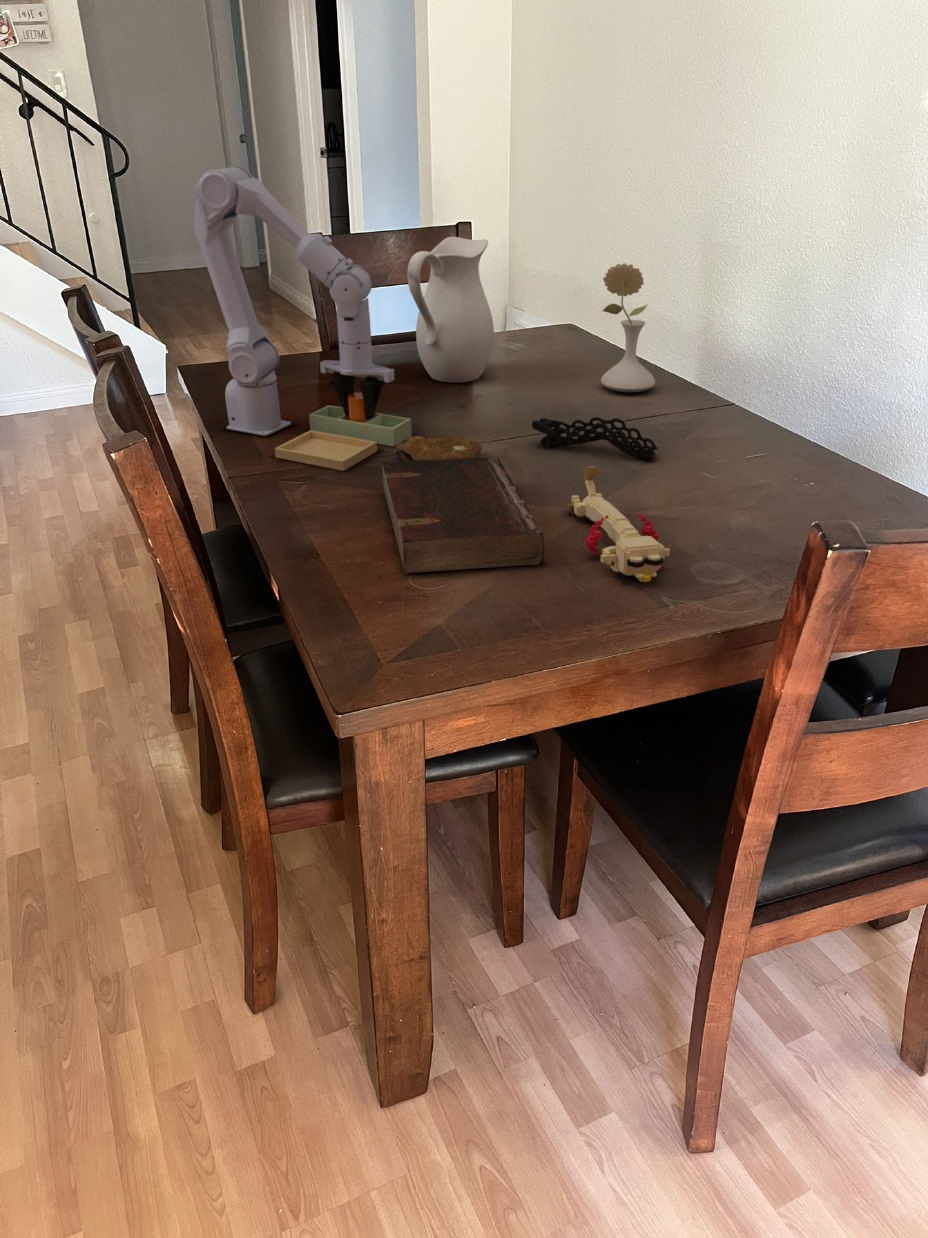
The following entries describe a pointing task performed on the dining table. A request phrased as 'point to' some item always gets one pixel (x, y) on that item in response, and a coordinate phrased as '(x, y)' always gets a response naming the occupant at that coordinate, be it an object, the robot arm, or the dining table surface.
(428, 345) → the pitcher
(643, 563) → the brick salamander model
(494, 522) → the hardback book
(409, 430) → the green compartment tray
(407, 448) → the decorative rock
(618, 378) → the flower in vase
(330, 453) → the birch tray
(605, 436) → the decorative element
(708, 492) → the dining table surface
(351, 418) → the orange cylinder
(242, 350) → the robot arm
